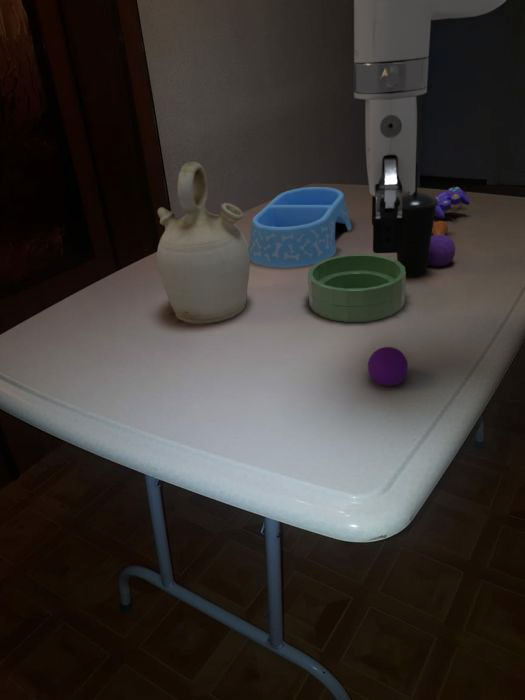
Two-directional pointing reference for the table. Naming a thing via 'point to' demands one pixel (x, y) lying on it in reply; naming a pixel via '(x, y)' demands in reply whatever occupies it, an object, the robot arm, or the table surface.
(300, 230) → the dog bowl
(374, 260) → the bowl
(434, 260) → the maraca
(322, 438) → the table surface
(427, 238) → the drinking cup
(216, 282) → the jug
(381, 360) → the ball
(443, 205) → the game controller
